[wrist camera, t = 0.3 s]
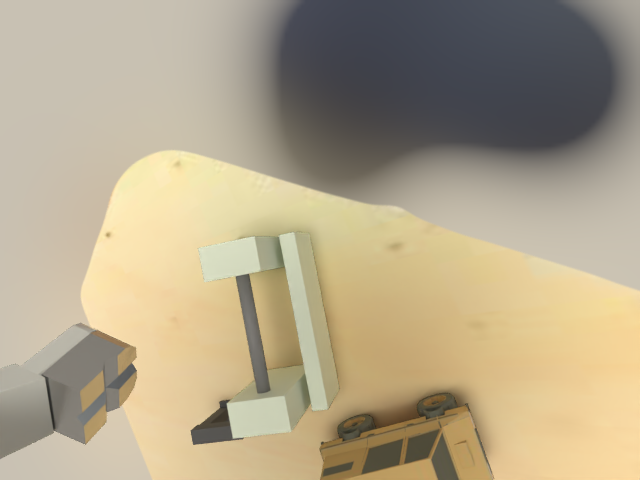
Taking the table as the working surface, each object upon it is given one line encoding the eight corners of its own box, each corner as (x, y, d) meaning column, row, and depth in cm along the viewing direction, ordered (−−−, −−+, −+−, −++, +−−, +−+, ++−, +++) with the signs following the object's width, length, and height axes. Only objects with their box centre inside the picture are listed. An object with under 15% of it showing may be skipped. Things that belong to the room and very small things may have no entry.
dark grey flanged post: (268, 416, 66) (243, 443, 57) (224, 421, 68) (194, 449, 59) (264, 395, 66) (239, 419, 57) (220, 401, 68) (189, 425, 59)
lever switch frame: (339, 388, 64) (317, 428, 50) (271, 397, 66) (232, 438, 53) (309, 233, 65) (279, 230, 51) (243, 246, 67) (198, 248, 53)
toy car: (489, 461, 60) (511, 532, 45) (351, 494, 64) (330, 569, 49) (461, 384, 61) (474, 429, 46) (327, 421, 65) (299, 473, 50)
